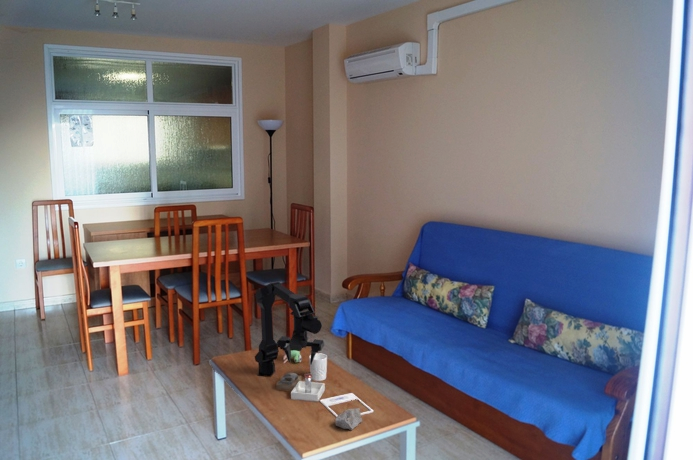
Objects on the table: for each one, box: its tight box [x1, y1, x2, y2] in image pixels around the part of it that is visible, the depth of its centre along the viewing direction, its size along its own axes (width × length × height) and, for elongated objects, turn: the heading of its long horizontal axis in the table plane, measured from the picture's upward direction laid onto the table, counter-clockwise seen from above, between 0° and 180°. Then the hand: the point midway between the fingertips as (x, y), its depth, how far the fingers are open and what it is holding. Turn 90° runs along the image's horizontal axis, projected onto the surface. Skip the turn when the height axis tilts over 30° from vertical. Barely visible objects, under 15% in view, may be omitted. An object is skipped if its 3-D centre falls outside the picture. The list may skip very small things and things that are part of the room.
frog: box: [283, 350, 302, 364], centre depth 267 cm, size 12×10×9 cm
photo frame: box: [319, 392, 374, 418], centre depth 221 cm, size 15×1×18 cm
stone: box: [334, 407, 363, 430], centre depth 206 cm, size 8×10×6 cm
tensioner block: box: [275, 372, 303, 392], centre depth 240 cm, size 10×8×4 cm
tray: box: [290, 380, 326, 403], centre depth 231 cm, size 11×11×3 cm
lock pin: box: [303, 372, 312, 393], centre depth 231 cm, size 3×3×8 cm
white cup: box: [308, 352, 328, 382], centre depth 247 cm, size 8×8×10 cm
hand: (300, 363), depth 233 cm, fingers open, 9 cm apart
